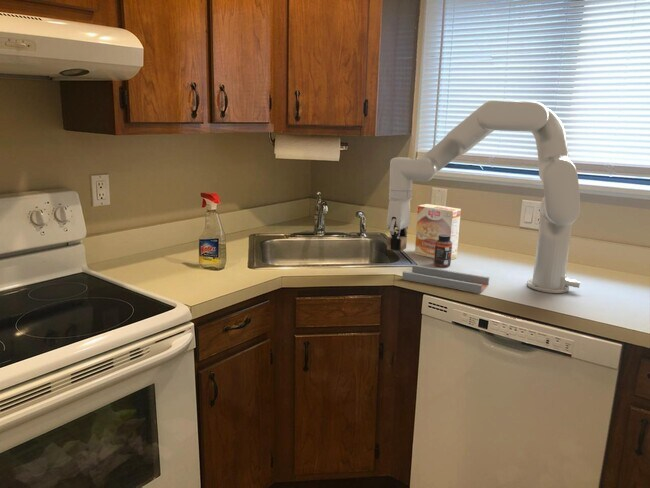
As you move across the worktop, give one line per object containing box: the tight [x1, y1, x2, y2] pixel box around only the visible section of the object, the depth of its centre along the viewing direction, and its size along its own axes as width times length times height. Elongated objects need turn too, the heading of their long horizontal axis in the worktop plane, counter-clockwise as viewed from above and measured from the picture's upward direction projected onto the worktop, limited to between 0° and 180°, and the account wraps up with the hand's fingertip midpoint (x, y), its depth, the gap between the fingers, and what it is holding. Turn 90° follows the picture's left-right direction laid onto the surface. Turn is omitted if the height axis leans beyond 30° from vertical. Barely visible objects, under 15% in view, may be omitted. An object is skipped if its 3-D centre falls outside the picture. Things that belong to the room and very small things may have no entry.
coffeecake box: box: [414, 203, 462, 261], centre depth 207 cm, size 15×7×20 cm, turn 49°
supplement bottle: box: [433, 234, 452, 268], centre depth 196 cm, size 6×6×11 cm
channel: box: [401, 264, 490, 294], centre depth 178 cm, size 26×10×2 cm, turn 61°
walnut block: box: [386, 235, 408, 252], centre depth 184 cm, size 5×5×4 cm
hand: (398, 247), depth 184 cm, fingers closed on walnut block, 5 cm apart
